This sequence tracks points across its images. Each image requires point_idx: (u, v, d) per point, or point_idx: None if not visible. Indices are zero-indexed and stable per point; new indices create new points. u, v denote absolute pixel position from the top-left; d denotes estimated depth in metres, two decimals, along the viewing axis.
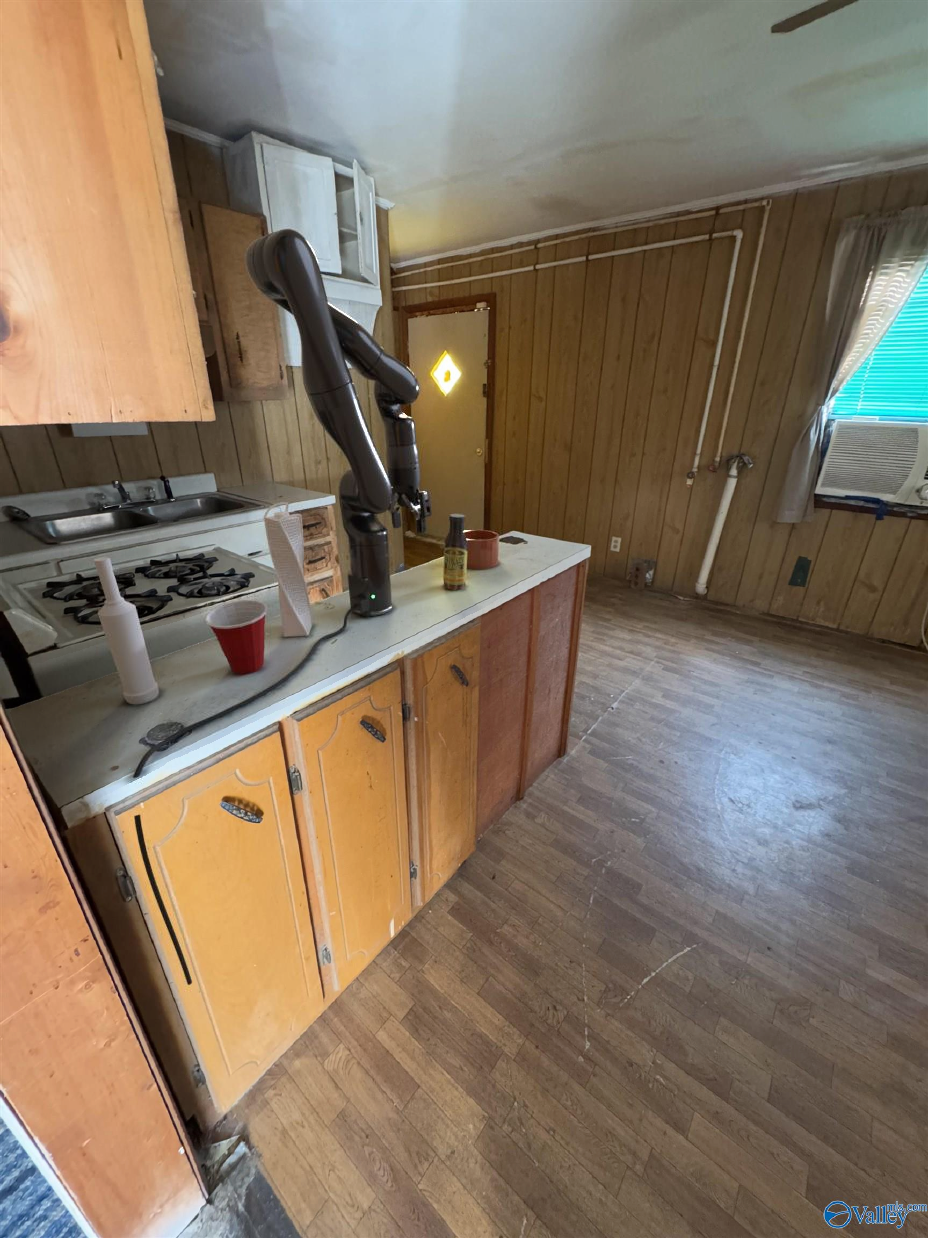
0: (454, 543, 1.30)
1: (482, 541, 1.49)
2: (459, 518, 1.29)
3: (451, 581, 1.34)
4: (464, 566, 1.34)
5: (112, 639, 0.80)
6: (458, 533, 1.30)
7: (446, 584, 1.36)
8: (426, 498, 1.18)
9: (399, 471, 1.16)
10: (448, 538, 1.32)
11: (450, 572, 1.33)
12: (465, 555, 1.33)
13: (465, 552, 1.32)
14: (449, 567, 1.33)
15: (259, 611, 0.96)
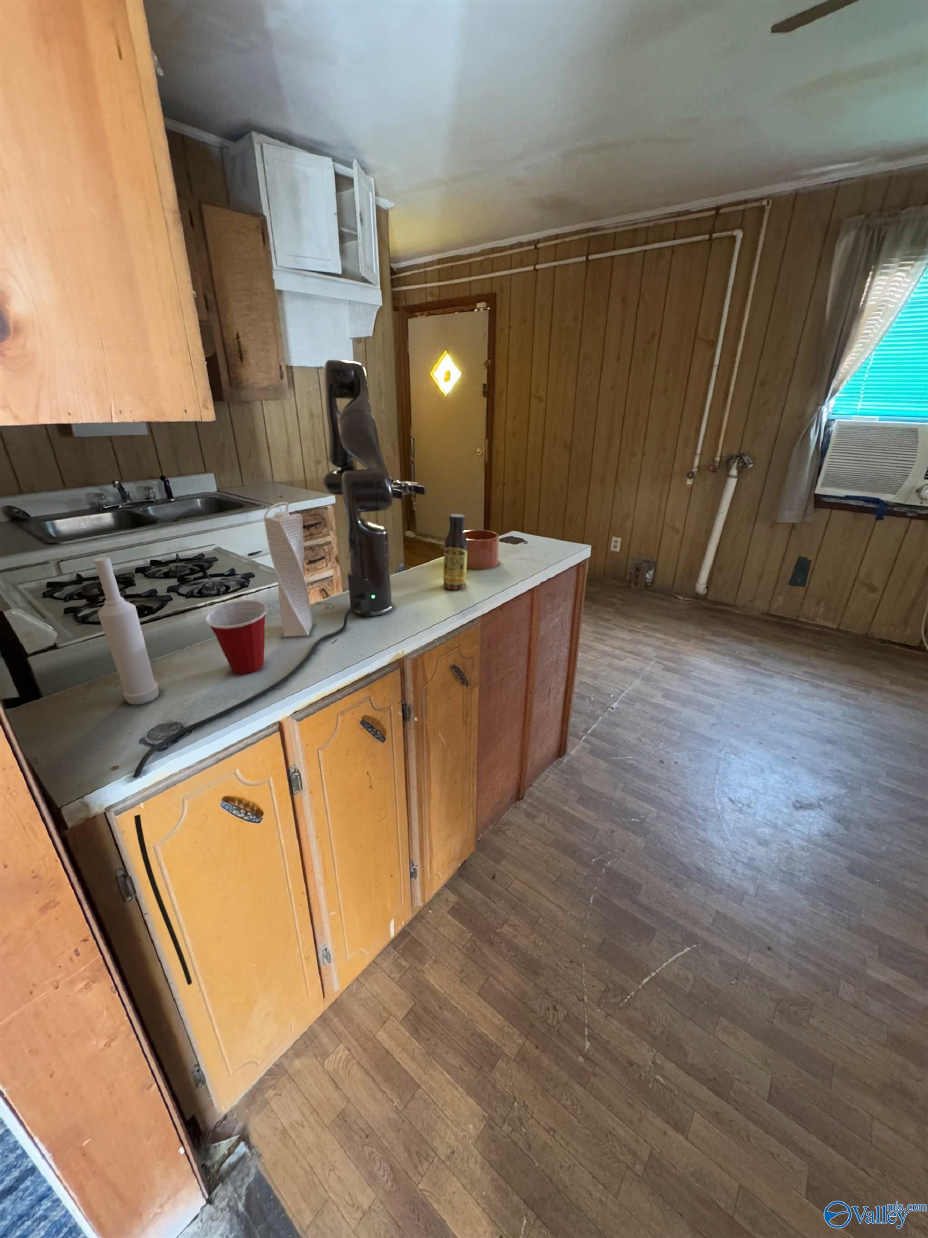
0: (454, 543, 1.30)
1: (482, 541, 1.49)
2: (459, 518, 1.29)
3: (451, 581, 1.34)
4: (464, 566, 1.34)
5: (112, 639, 0.80)
6: (458, 533, 1.30)
7: (446, 584, 1.36)
8: None
9: None
10: (448, 538, 1.32)
11: (450, 572, 1.33)
12: (465, 555, 1.33)
13: (465, 552, 1.32)
14: (449, 567, 1.33)
15: (259, 611, 0.96)
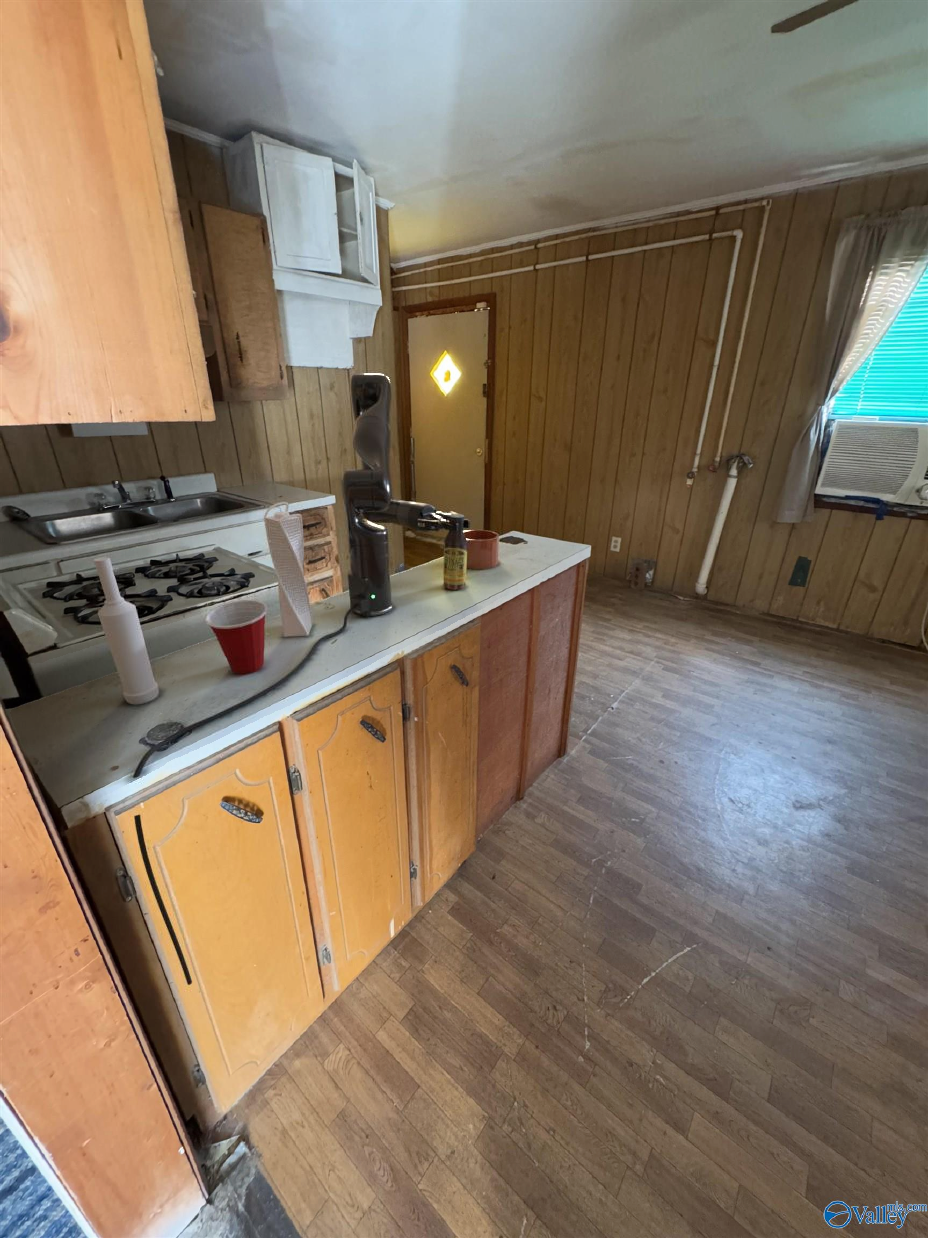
0: (453, 543, 1.30)
1: (482, 541, 1.49)
2: (458, 518, 1.28)
3: (451, 581, 1.34)
4: (464, 566, 1.34)
5: (112, 639, 0.80)
6: (458, 533, 1.30)
7: (446, 584, 1.36)
8: None
9: None
10: (448, 538, 1.31)
11: (450, 572, 1.33)
12: (465, 555, 1.33)
13: (465, 552, 1.32)
14: (449, 567, 1.33)
15: (259, 611, 0.96)
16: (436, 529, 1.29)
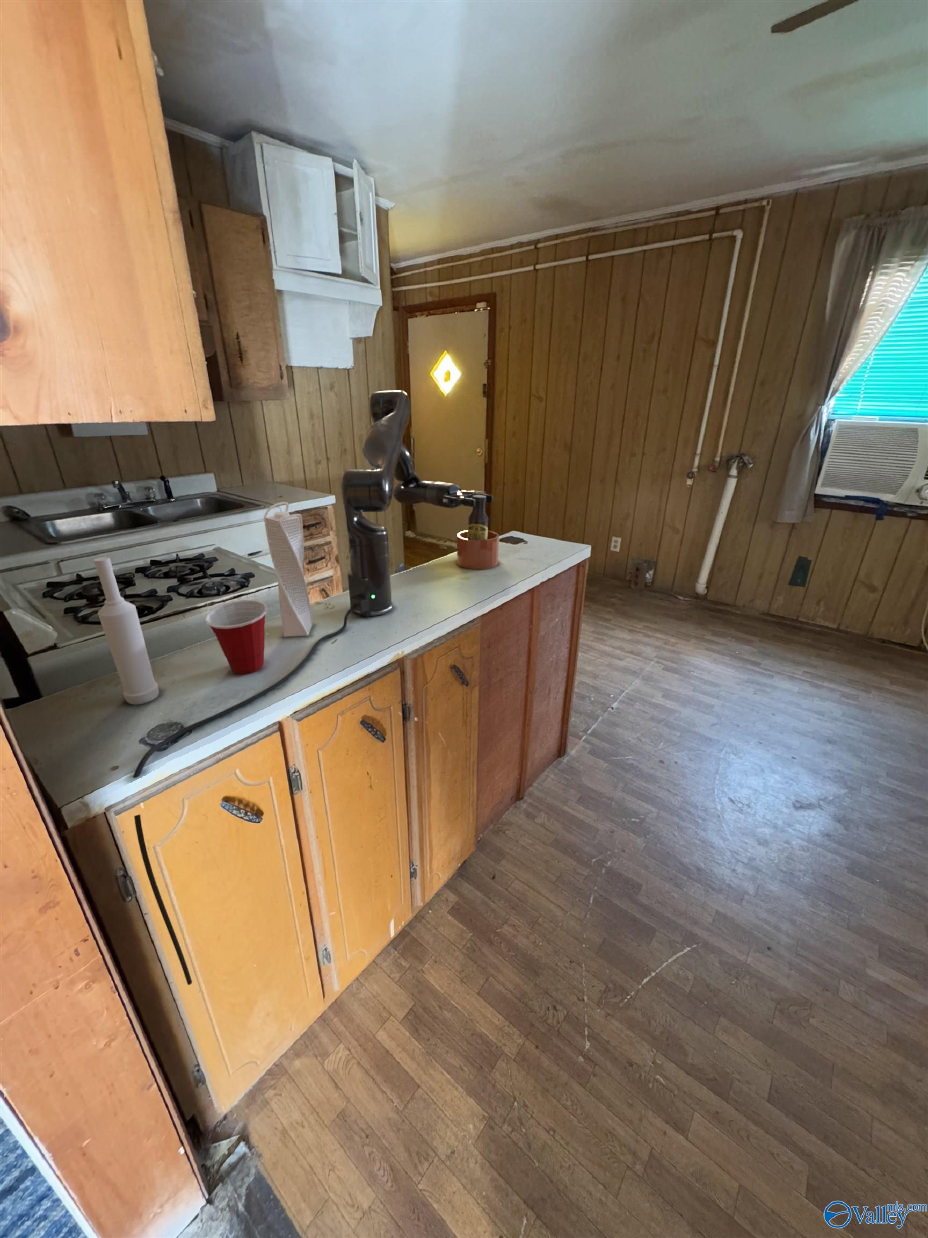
0: (476, 520, 1.50)
1: (482, 541, 1.49)
2: (481, 498, 1.48)
3: None
4: None
5: (112, 639, 0.80)
6: (480, 511, 1.50)
7: None
8: None
9: None
10: (471, 516, 1.51)
11: None
12: (486, 531, 1.52)
13: (486, 528, 1.52)
14: None
15: (259, 611, 0.96)
16: (455, 505, 1.47)
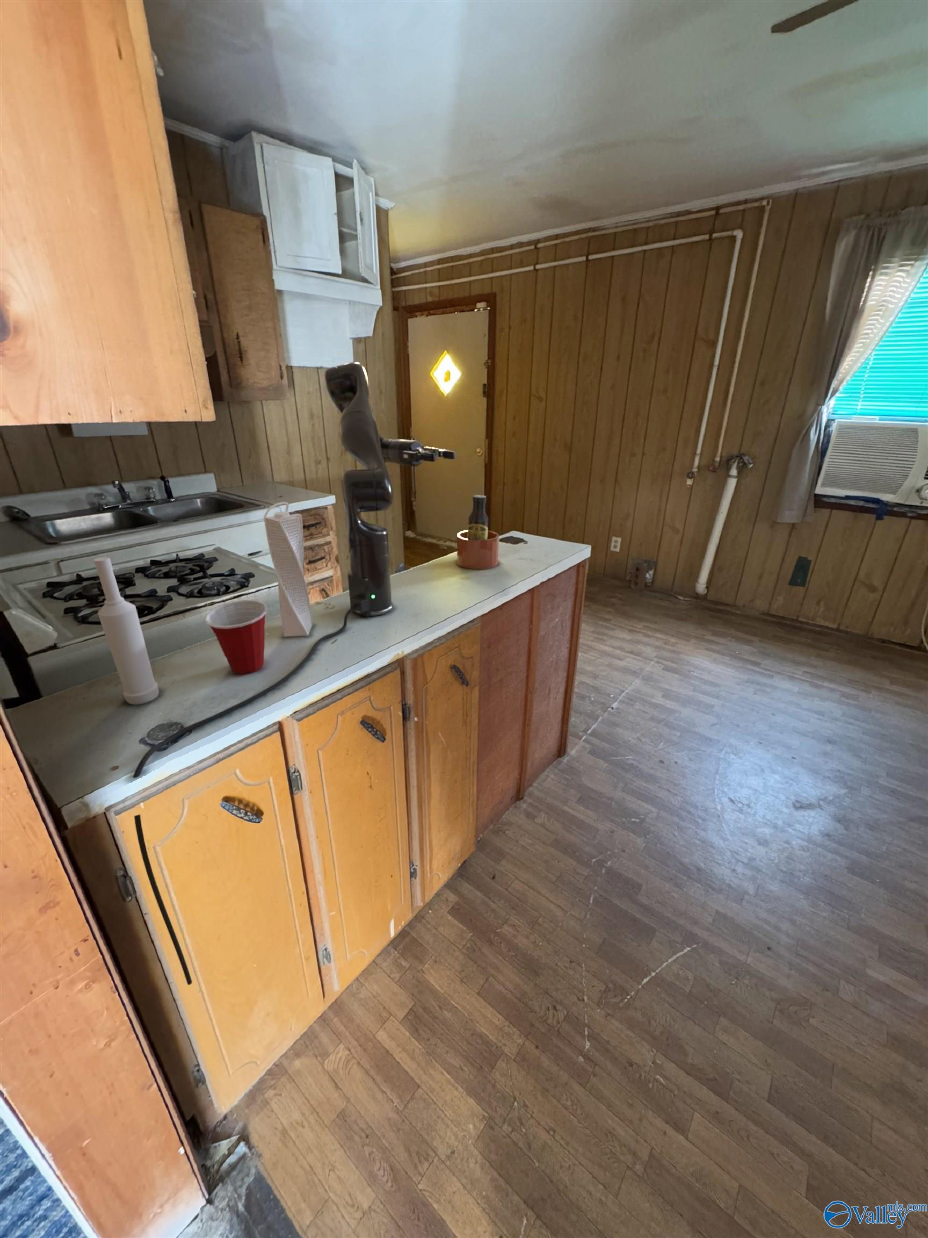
0: (476, 520, 1.50)
1: (482, 541, 1.49)
2: (481, 498, 1.48)
3: None
4: None
5: (112, 639, 0.80)
6: (480, 511, 1.50)
7: None
8: None
9: None
10: (471, 516, 1.51)
11: None
12: (486, 531, 1.52)
13: (486, 528, 1.52)
14: None
15: (259, 611, 0.96)
16: (415, 460, 1.44)
